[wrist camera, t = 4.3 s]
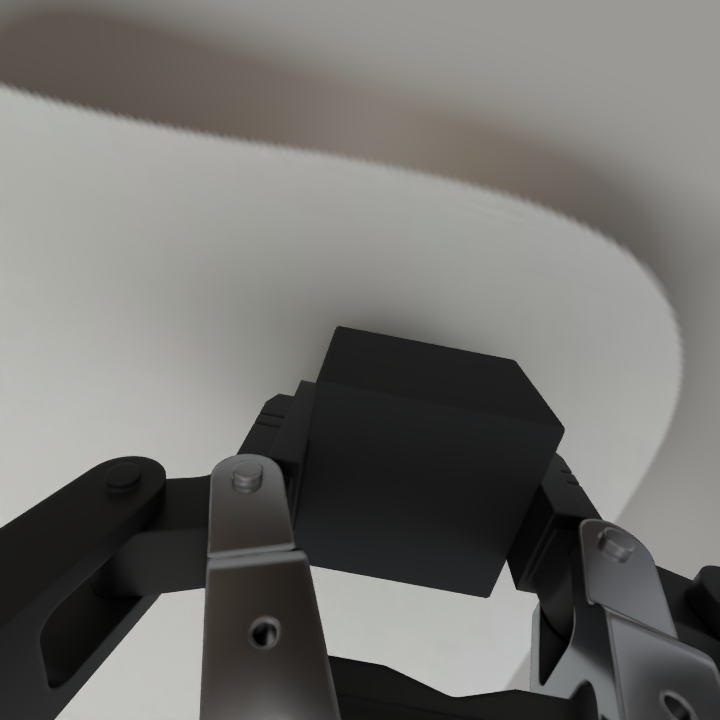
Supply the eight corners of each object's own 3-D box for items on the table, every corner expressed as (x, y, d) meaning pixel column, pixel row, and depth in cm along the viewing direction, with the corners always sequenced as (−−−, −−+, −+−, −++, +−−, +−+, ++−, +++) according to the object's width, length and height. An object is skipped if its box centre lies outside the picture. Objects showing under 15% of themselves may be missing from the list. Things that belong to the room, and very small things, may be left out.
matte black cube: (516, 359, 11) (568, 428, 8) (464, 499, 13) (489, 600, 10) (336, 324, 11) (315, 380, 8) (311, 470, 13) (287, 563, 10)
